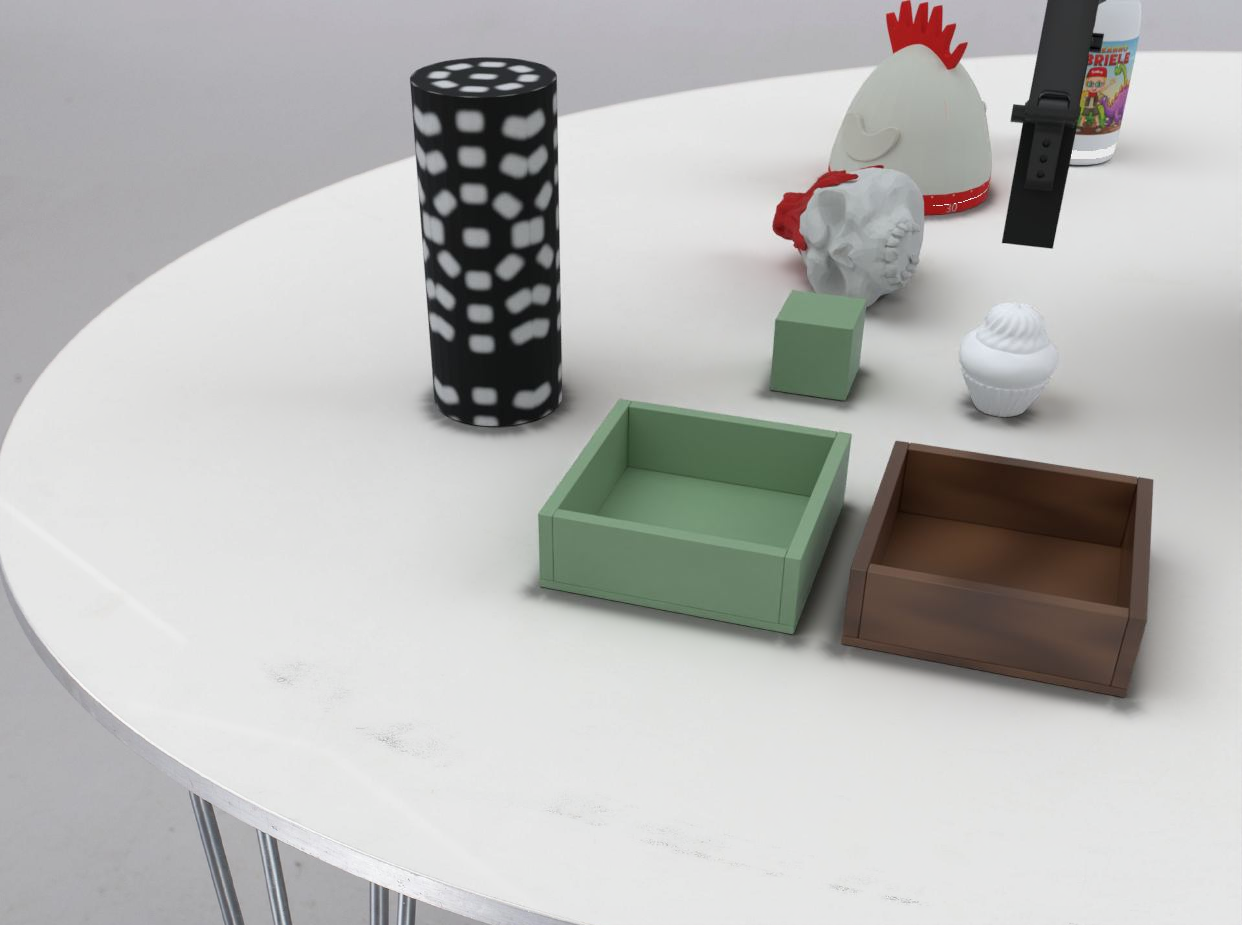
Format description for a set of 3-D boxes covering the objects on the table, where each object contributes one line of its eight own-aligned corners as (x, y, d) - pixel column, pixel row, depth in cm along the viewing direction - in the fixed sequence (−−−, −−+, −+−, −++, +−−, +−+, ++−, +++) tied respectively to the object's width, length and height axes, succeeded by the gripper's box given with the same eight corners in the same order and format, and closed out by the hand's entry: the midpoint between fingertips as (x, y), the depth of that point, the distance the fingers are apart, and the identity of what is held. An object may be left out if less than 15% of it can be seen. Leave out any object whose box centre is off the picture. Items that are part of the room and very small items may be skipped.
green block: (859, 369, 96) (867, 298, 93) (845, 401, 93) (853, 329, 90) (786, 359, 98) (791, 289, 95) (769, 390, 94) (775, 318, 91)
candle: (890, 328, 100) (727, 294, 110) (979, 282, 107) (818, 253, 116) (892, 198, 96) (721, 174, 105) (985, 158, 102) (816, 139, 111)
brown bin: (1134, 550, 78) (1153, 478, 75) (1125, 698, 68) (1147, 620, 65) (885, 509, 82) (895, 439, 79) (840, 643, 71) (850, 568, 69)
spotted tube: (421, 422, 90) (393, 94, 78) (449, 365, 97) (428, 55, 85) (551, 430, 89) (543, 100, 77) (571, 372, 96) (567, 59, 84)
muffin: (1068, 408, 92) (1090, 305, 87) (1008, 438, 89) (1029, 332, 84) (990, 376, 95) (1007, 275, 91) (930, 402, 92) (945, 300, 88)
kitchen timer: (900, 151, 133) (922, -23, 124) (1020, 191, 125) (1053, 6, 116) (794, 183, 126) (809, 1, 117) (914, 227, 118) (940, 34, 109)
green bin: (843, 503, 82) (852, 433, 80) (793, 635, 72) (800, 559, 69) (618, 466, 86) (619, 397, 83) (539, 586, 75) (537, 513, 73)
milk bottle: (1014, 143, 135) (1054, -92, 123) (1090, 138, 136) (1137, -95, 125) (1049, 169, 129) (1095, -75, 117) (1128, 164, 130) (1182, -78, 118)
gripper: (1053, -249, 81) (991, 133, 94) (1017, -198, 62) (945, 273, 75) (1193, -244, 79) (1110, 144, 92) (1201, -191, 60) (1094, 291, 73)
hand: (1036, 203), depth 83 cm, fingers open, 13 cm apart
